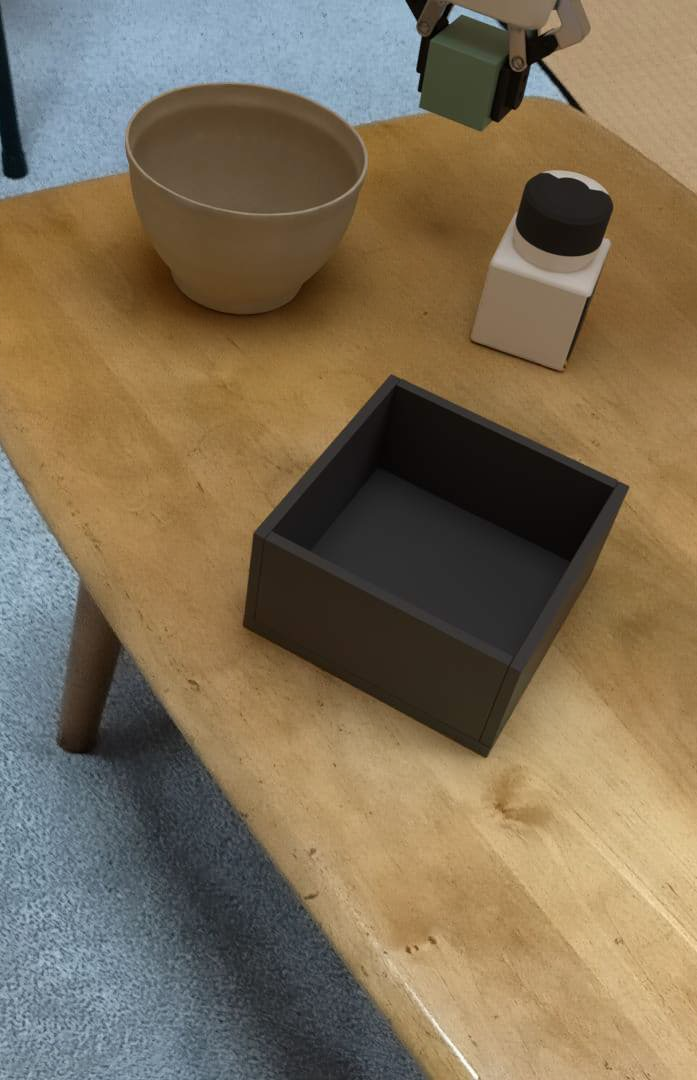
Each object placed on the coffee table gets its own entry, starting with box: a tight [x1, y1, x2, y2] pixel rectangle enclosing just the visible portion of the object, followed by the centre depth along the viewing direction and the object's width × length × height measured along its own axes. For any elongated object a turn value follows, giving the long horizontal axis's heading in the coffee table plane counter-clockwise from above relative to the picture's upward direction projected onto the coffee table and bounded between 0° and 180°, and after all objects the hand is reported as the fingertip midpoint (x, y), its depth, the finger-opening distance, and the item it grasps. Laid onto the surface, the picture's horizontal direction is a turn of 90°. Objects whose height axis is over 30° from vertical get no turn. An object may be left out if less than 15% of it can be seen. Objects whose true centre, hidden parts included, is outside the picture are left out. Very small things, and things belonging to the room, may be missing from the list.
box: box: [418, 14, 509, 133], centre depth 87 cm, size 5×5×5 cm
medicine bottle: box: [470, 169, 614, 372], centre depth 86 cm, size 7×7×12 cm
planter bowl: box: [124, 81, 369, 315], centre depth 86 cm, size 16×16×11 cm
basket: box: [242, 373, 630, 758], centre depth 70 cm, size 15×15×8 cm
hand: (466, 97), depth 88 cm, fingers closed on box, 5 cm apart
